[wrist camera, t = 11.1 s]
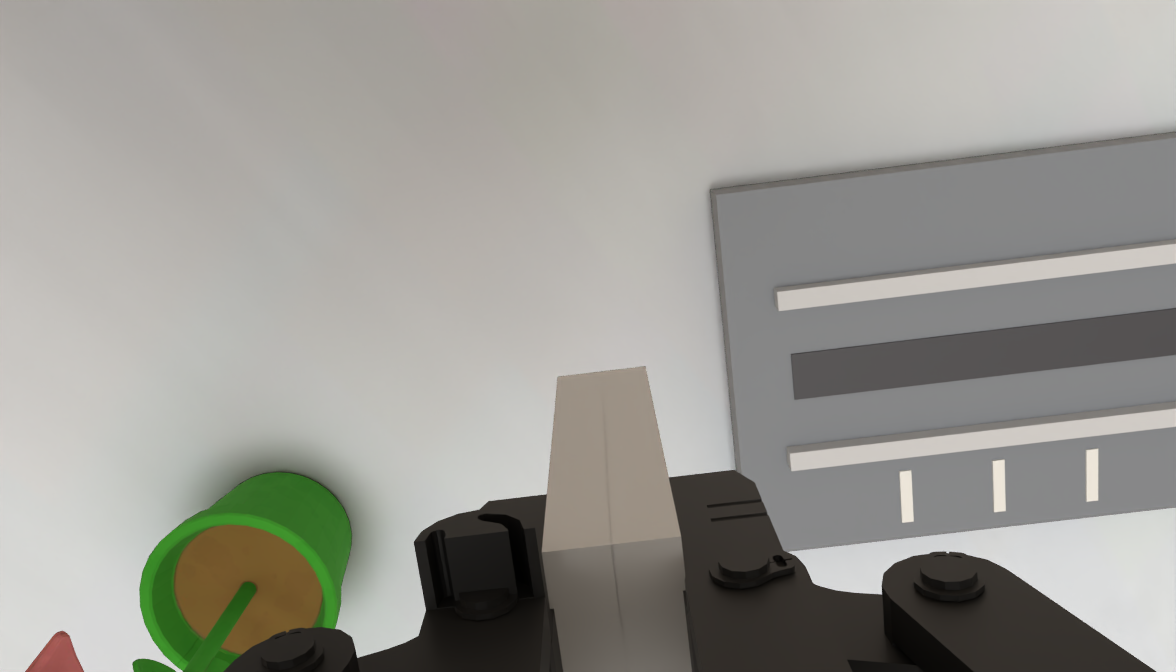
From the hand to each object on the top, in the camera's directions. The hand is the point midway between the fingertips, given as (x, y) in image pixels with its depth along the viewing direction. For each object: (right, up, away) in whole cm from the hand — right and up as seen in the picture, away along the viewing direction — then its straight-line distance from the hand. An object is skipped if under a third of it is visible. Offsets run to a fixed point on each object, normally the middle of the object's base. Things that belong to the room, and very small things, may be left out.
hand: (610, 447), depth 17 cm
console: (+21, +2, +27) cm, 34 cm away
